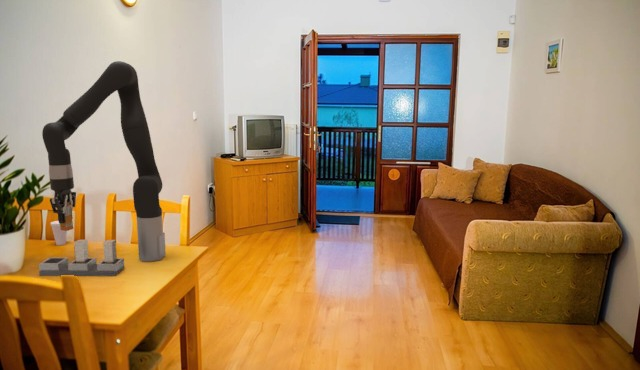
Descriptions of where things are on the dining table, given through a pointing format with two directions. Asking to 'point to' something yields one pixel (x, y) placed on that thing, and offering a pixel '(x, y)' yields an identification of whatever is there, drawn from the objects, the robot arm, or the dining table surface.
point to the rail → (84, 262)
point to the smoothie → (58, 233)
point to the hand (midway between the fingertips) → (65, 221)
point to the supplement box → (67, 219)
